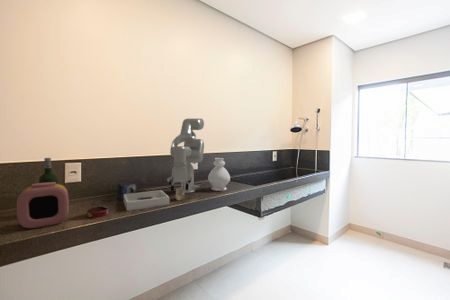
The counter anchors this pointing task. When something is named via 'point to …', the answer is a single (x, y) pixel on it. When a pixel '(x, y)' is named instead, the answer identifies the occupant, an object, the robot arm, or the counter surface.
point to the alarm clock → (42, 205)
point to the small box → (126, 189)
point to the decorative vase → (219, 175)
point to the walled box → (145, 200)
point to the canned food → (97, 211)
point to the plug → (179, 193)
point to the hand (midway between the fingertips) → (179, 190)
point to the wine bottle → (48, 173)
